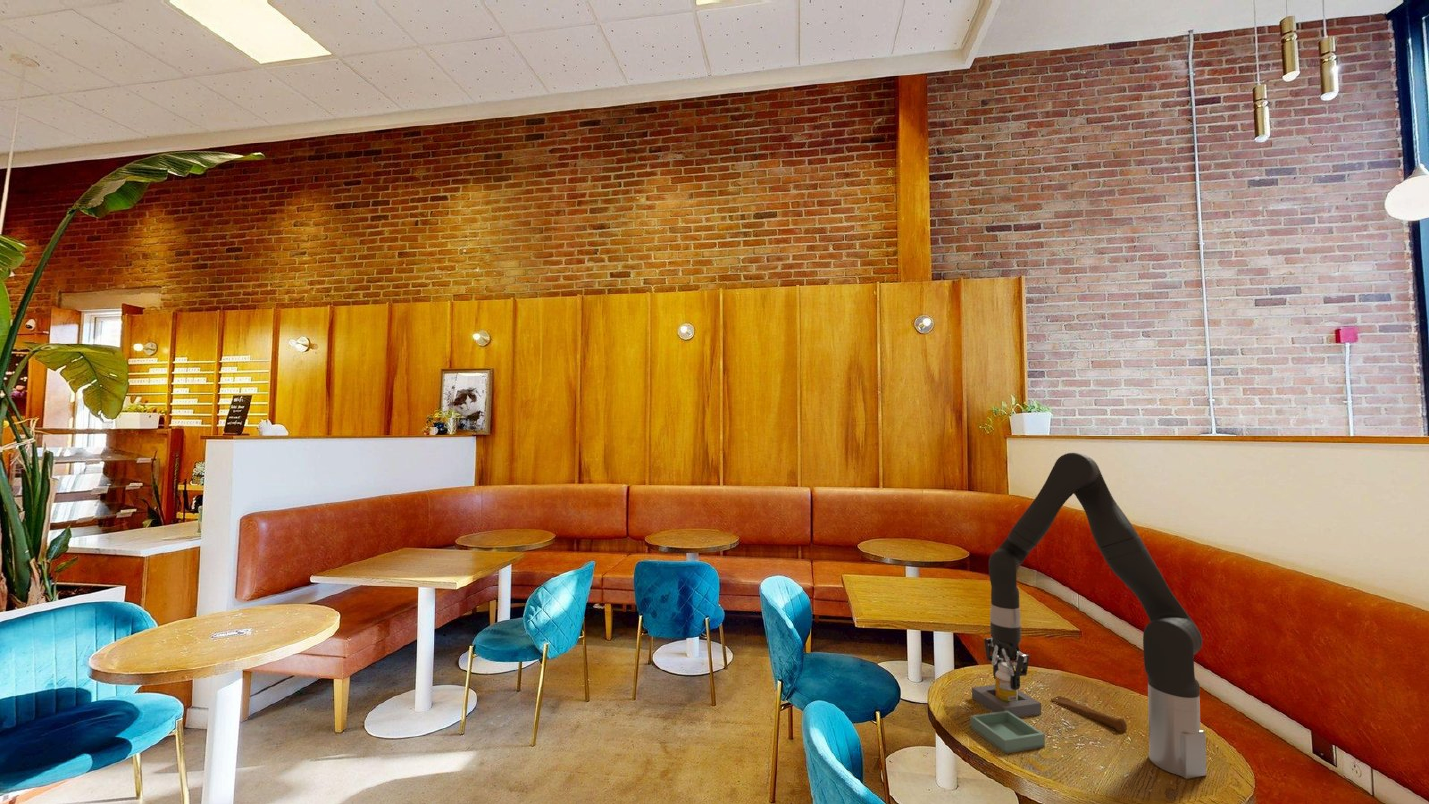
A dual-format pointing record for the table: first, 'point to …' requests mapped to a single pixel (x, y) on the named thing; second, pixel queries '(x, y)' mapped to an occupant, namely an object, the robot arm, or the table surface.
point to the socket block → (1018, 708)
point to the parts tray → (1007, 731)
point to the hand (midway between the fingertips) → (1006, 684)
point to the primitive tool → (1092, 714)
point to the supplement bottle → (1004, 684)
